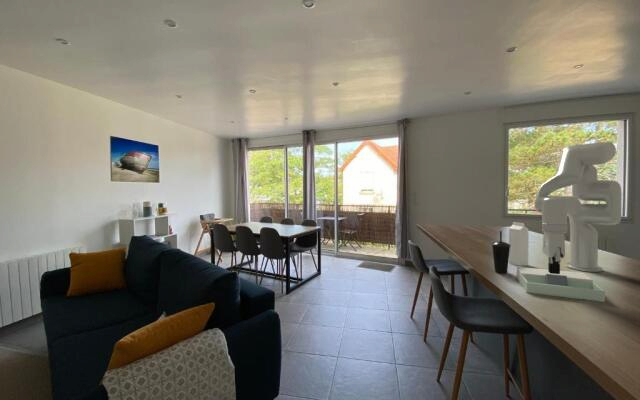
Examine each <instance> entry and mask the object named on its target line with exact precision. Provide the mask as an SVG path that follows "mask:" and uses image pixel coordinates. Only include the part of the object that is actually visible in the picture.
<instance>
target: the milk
mask: <svg viewBox="0 0 640 400" xmlns="http://www.w3.org/2000/svg"><path fill="white" fill-rule="evenodd" d="M508 244H510V245H511V246H510V251H509V260H508V264H511V265H515V266H517V267H524V266H528V265H529V228H528V227H526V225H525V223H524V222H517V221H513V222H512V225H510V226H509V228H508ZM523 265H524V266H523Z"/></svg>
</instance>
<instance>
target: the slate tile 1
mask: <svg viewBox="0 0 640 400" xmlns="http://www.w3.org/2000/svg"><path fill="white" fill-rule="evenodd" d="M545 276H546V284H549V285H559V286H568V283H567V276H563V275H553V274H545Z"/></svg>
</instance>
